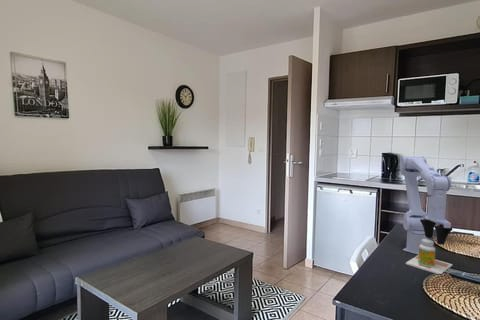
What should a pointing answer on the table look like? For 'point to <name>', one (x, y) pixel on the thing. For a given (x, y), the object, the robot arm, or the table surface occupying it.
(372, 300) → the table surface
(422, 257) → the supplement bottle
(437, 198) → the robot arm
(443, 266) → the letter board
